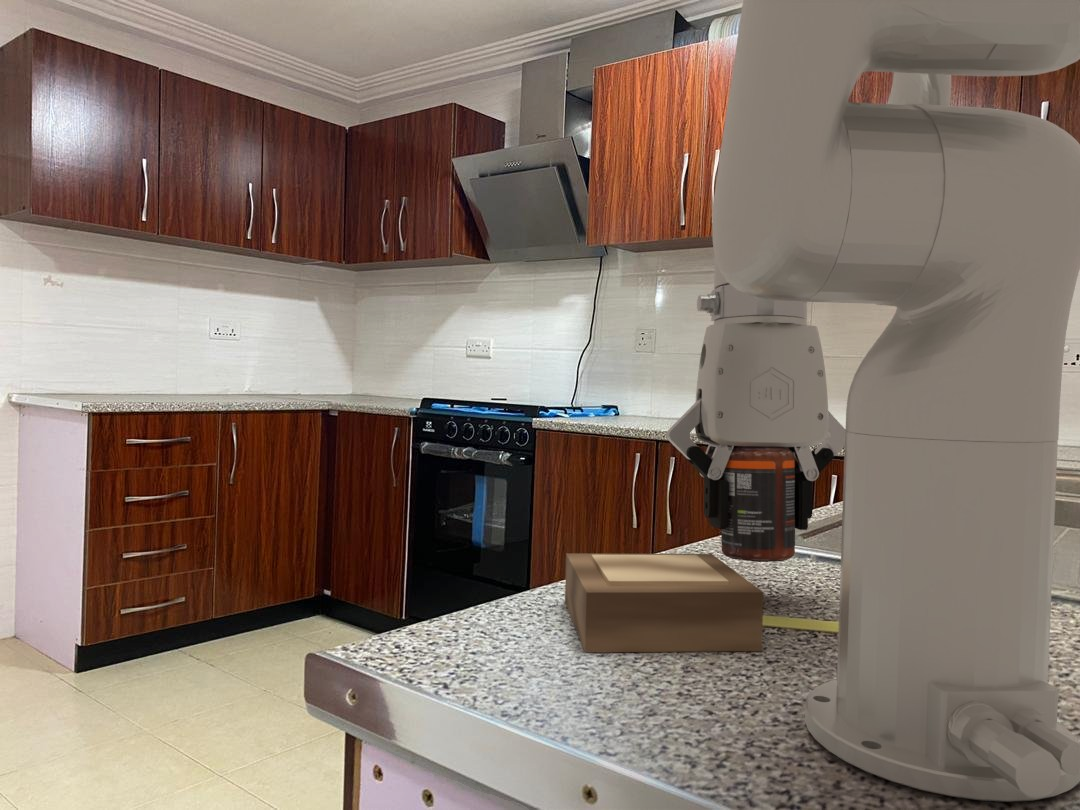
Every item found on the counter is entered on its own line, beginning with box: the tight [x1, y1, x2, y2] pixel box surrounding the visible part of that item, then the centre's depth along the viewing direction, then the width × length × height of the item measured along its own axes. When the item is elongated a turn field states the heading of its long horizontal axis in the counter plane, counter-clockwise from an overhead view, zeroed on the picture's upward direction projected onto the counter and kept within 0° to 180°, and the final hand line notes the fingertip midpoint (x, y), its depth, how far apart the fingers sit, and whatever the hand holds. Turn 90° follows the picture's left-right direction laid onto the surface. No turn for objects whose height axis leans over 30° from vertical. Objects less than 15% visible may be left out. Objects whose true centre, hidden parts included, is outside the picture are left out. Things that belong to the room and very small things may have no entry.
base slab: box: [564, 552, 764, 653], centre depth 61 cm, size 12×12×4 cm
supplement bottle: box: [720, 446, 796, 563], centre depth 68 cm, size 6×6×11 cm
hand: (757, 525), depth 68 cm, fingers closed on supplement bottle, 6 cm apart
